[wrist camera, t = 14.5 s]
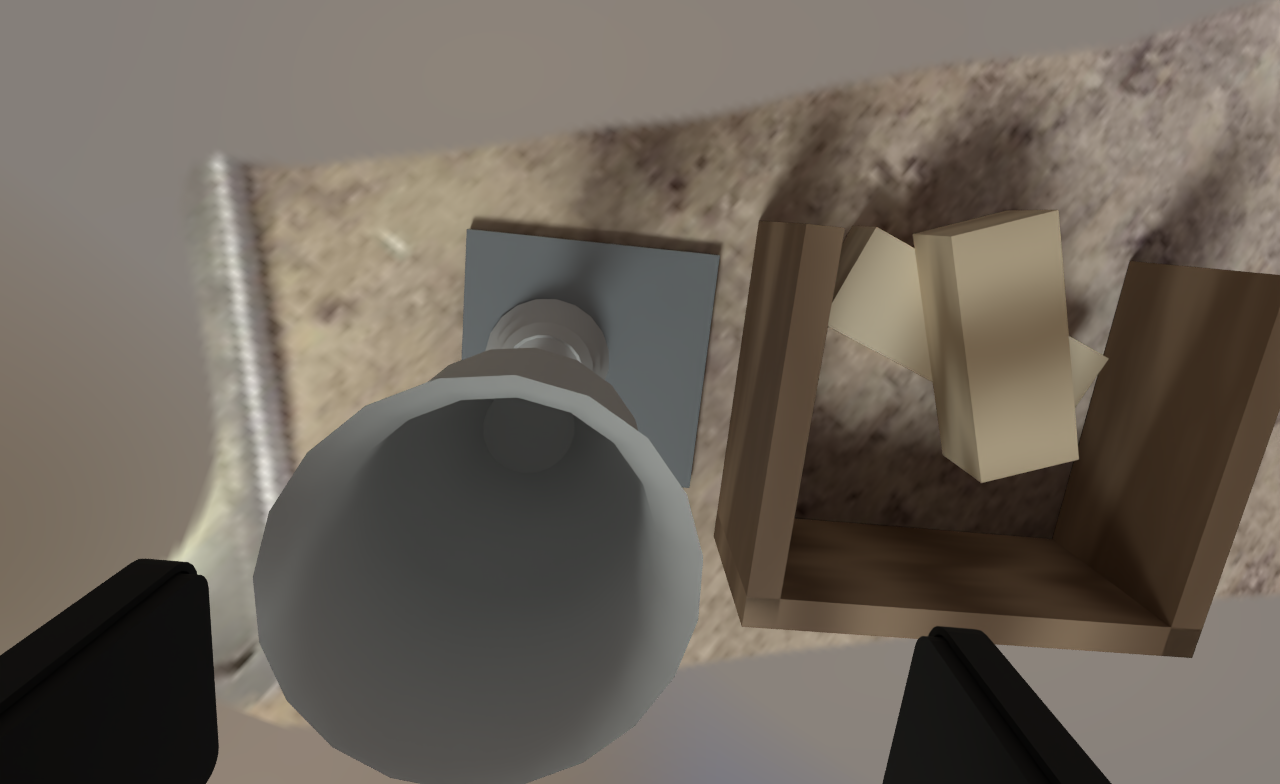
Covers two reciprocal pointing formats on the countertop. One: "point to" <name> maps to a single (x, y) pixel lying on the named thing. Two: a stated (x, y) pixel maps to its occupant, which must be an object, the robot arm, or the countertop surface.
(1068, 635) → the brown wooden u-shaped frame
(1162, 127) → the countertop surface
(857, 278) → the offcut lower
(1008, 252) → the offcut upper
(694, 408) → the slate tile
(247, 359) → the countertop surface
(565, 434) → the chalice
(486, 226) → the countertop surface
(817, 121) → the countertop surface
